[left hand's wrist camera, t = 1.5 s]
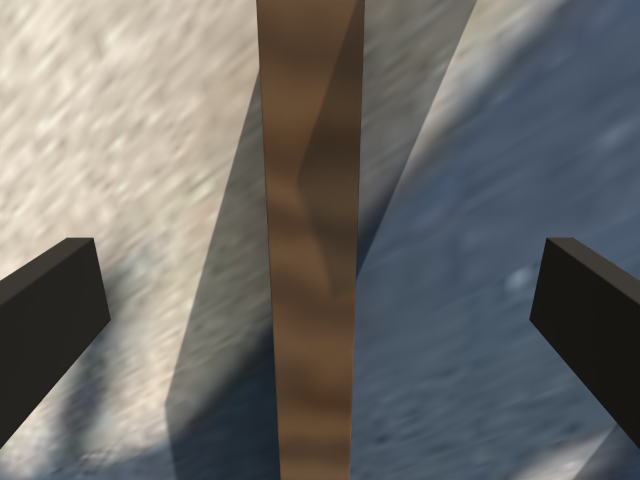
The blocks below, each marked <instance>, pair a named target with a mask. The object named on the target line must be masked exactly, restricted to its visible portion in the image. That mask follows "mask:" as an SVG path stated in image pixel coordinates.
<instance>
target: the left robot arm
mask: <svg viewBox="0 0 640 480" xmlns="http://www.w3.org/2000/svg"><path fill="white" fill-rule="evenodd" d="M110 320H111V319H110V314H109V309H108V304H107V300H106V295H105V290H104V285H103V281H102V276H101V271H100V266H99V262H98V257H97V252H96V247H95V243H94V238H66V239H64V240H63V241H61V242H60V243H58V244H57V245H55V246H53V247H52V248H50V249H49V250H47V251H46V252H44V253H43V254H41V255H39V256H38V257H36V258H35V259H33V260H32V261H30V262H29V263H27V264H26V265H24V266H22V267H21V268H19V269H18V270H16V271H15V272H13V273H12V274H10V275H8V276H7V277H5V278H4V279H2V280H1V281H0V449H1V448H2V447H3V445H4V444H5V443H6V442H7V441H8V440H9V438H10V437H11V436H12V435H13V434H14V433H15V431H16V430H17V429H18V428H19V427H20V425H21V424H22V423H23V422H24V421H25V420H26V418H27V417H28V416H29V415H30V414H31V413H32V411H33V410H34V409H35V408H36V407H37V406H38V404H39V403H40V402H41V401H42V400H43V399H44V397H45V396H46V395H47V394H48V393H49V391H50V390H51V389H52V388H53V387H54V386H55V384H56V383H57V382H58V381H59V380H60V379H61V377H62V376H63V375H64V374H65V373H66V372H67V370H68V369H69V368H70V367H71V366H72V365H73V363H74V362H75V361H76V360H77V359H78V358H79V356H80V355H81V354H82V353H83V352H84V350H85V349H86V348H87V347H88V346H89V345H90V343H91V342H92V341H93V340H94V339H95V338H96V336H97V335H98V334H99V333H100V332H101V331H102V329H103V328H104V327H105V326H106V325H107V324H108V322H109V321H110ZM529 320H530V321H531V322H532V324H533V325H534V326H535V327H536V328H537V329H538V331H539V332H540V333H541V334H542V335H543V336H544V338H545V339H546V340H547V341H548V342H549V343H550V345H551V346H552V347H553V348H554V349H555V350H556V352H557V353H558V354H559V355H560V356H561V358H562V359H563V360H564V361H565V362H566V363H567V365H568V366H569V367H570V368H571V369H572V370H573V372H574V373H575V374H576V375H577V376H578V377H579V379H580V380H581V381H582V382H583V383H584V384H585V386H586V387H587V388H588V389H589V390H590V391H591V393H592V394H593V395H594V396H595V397H596V399H597V400H598V401H599V402H600V403H601V404H602V406H603V407H604V408H605V409H606V410H607V411H608V413H609V414H610V415H611V416H612V417H613V418H614V420H615V421H616V422H617V423H618V424H619V425H620V427H621V428H622V429H623V430H624V431H625V433H626V434H627V435H628V436H629V437H630V438H631V440H632V441H633V442H634V443H635V444H636V445H637V447H638V448H639V449H640V281H639V280H638V279H636V278H635V277H633V276H632V275H630V274H628V273H627V272H625V271H624V270H622V269H621V268H619V267H618V266H616V265H614V264H613V263H611V262H610V261H608V260H607V259H605V258H604V257H602V256H601V255H599V254H597V253H596V252H594V251H593V250H591V249H590V248H588V247H587V246H585V245H583V244H582V243H580V242H579V241H577V240H576V239H574V238H546V243H545V247H544V252H543V257H542V262H541V266H540V271H539V276H538V281H537V285H536V290H535V295H534V300H533V304H532V309H531V314H530V319H529Z"/></svg>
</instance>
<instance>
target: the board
mask: <svg viewBox="0 0 640 480" xmlns="http://www.w3.org/2000/svg"><path fill="white" fill-rule="evenodd" d="M256 6H257V25H258V45H259V65H260V84H261V104H262V124H263V144H264V163H265V183H266V203H267V222H268V242H269V262H270V282H271V301H272V321H273V341H274V360H275V380H276V400H277V420H278V439H279V459H280V479H281V480H350V451H351V420H352V388H353V357H354V325H355V294H356V262H357V231H358V199H359V168H360V136H361V105H362V73H363V42H364V10H365V0H256Z"/></svg>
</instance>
